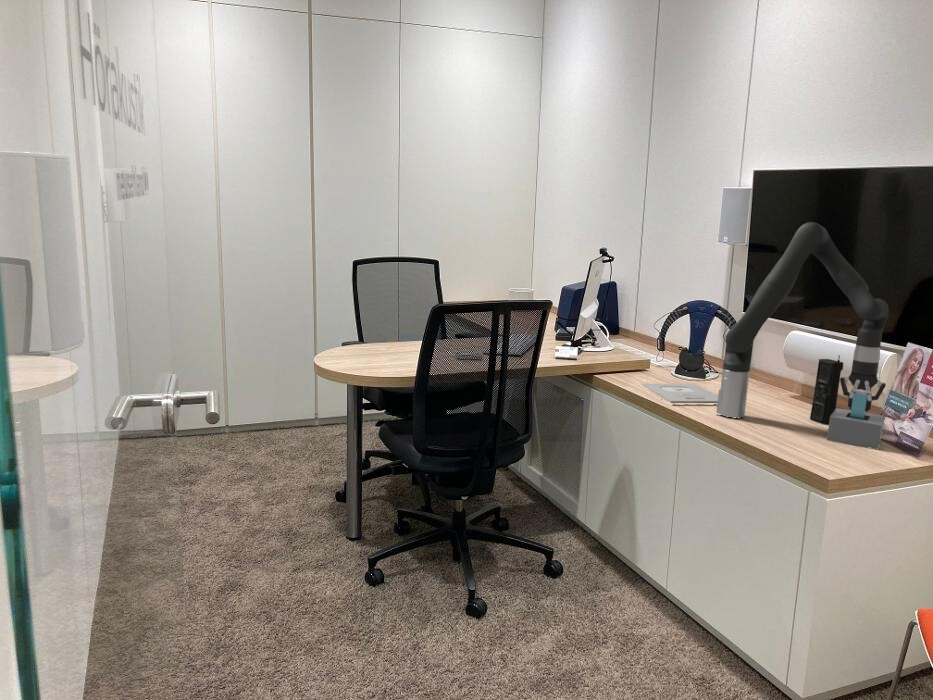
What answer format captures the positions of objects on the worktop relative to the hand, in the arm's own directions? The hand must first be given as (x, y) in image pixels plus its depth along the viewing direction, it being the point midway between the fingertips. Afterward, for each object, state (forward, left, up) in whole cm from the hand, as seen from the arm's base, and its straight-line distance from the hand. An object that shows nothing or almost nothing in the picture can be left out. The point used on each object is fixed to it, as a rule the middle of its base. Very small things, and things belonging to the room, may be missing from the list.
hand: (858, 409), depth 243 cm
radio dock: (0, 0, -10) cm, 10 cm away
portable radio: (-13, +18, -10) cm, 25 cm away
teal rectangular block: (0, 0, -7) cm, 7 cm away
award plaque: (-65, +21, -11) cm, 69 cm away
